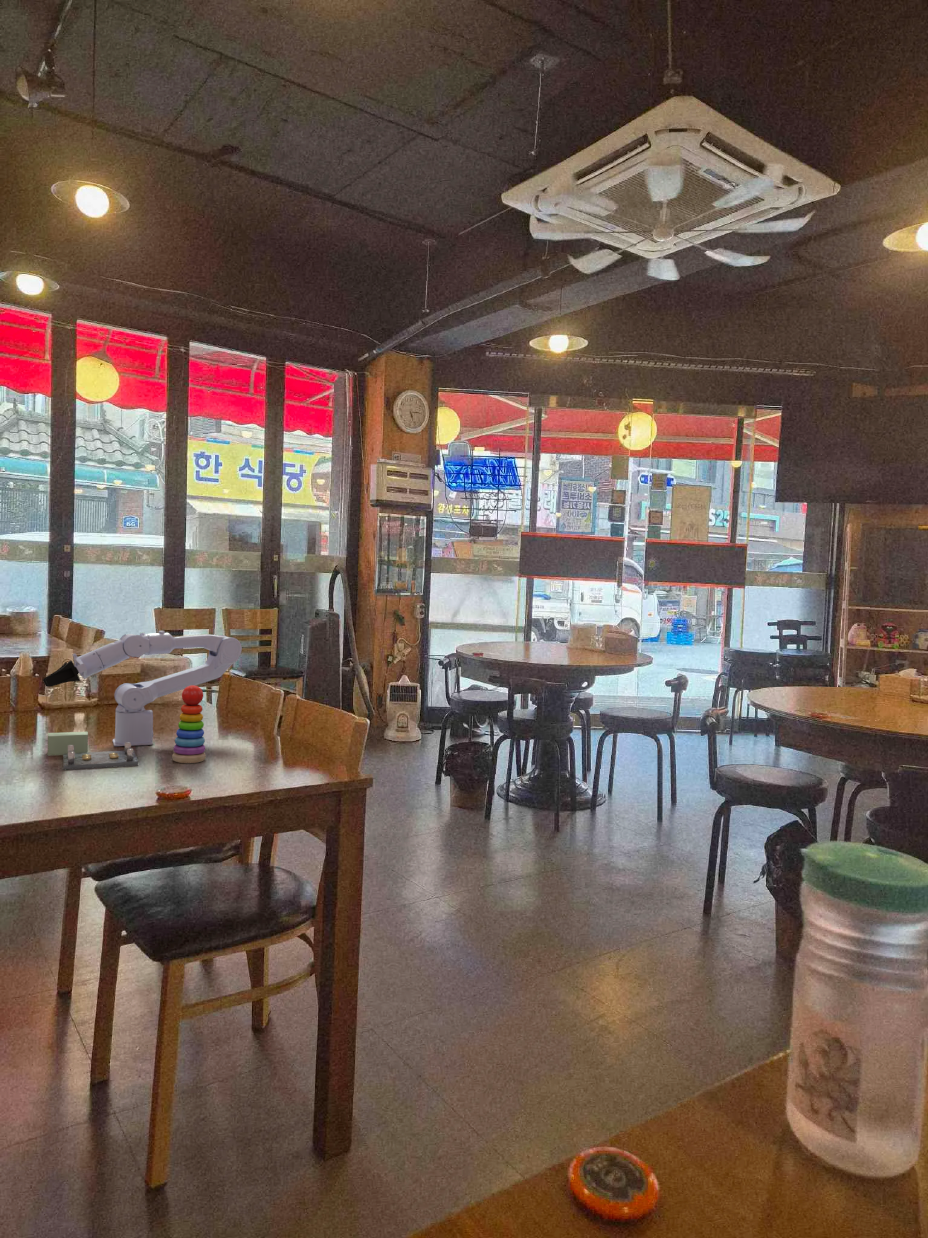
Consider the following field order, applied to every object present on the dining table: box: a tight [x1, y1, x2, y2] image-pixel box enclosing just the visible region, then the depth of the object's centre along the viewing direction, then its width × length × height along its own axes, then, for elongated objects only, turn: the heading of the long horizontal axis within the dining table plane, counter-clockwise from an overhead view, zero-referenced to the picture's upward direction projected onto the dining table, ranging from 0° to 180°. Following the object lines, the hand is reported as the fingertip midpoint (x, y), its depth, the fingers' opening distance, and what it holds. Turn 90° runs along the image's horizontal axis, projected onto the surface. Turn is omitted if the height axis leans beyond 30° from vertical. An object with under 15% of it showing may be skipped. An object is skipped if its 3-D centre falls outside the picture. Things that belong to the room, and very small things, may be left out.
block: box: [47, 731, 89, 757], centre depth 207 cm, size 9×4×5 cm, turn 116°
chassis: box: [62, 742, 139, 771], centre depth 199 cm, size 16×13×4 cm
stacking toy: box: [171, 685, 207, 764], centre depth 204 cm, size 8×8×19 cm
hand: (45, 683), depth 208 cm, fingers open, 7 cm apart
